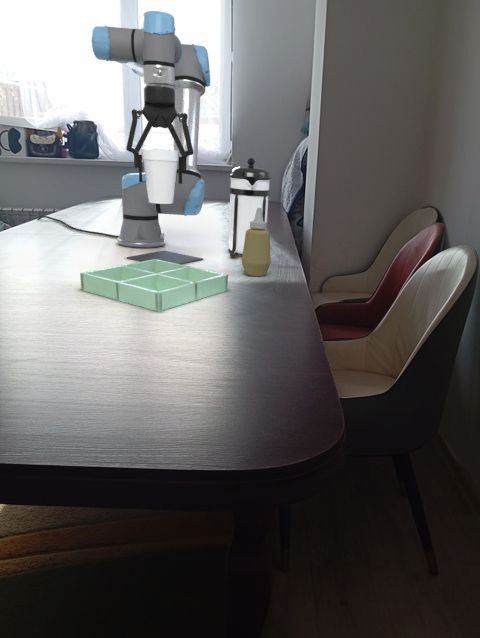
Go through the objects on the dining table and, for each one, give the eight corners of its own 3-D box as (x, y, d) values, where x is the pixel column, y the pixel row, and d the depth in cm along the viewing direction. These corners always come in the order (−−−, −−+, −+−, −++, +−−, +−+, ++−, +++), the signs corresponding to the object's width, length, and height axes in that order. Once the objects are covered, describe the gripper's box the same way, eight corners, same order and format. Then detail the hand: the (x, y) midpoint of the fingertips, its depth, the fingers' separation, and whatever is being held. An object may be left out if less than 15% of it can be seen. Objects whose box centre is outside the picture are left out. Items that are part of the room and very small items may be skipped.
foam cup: (182, 201, 140) (182, 150, 135) (173, 205, 132) (173, 151, 127) (148, 199, 141) (147, 148, 136) (137, 202, 132) (136, 148, 127)
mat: (126, 258, 152) (126, 257, 152) (163, 251, 165) (164, 250, 165) (167, 267, 145) (167, 266, 145) (202, 259, 157) (202, 258, 157)
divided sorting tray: (81, 290, 118) (80, 272, 116) (154, 273, 137) (154, 258, 135) (158, 311, 106) (158, 293, 105) (227, 290, 125) (228, 274, 124)
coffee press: (280, 257, 169) (287, 160, 158) (246, 262, 158) (251, 158, 147) (243, 248, 180) (247, 157, 169) (209, 252, 169) (211, 155, 158)
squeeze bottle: (248, 278, 138) (252, 209, 132) (236, 271, 145) (239, 206, 139) (274, 276, 142) (279, 210, 136) (261, 270, 149) (265, 206, 142)
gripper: (111, 81, 120) (116, 181, 129) (206, 89, 125) (204, 185, 133) (113, 83, 127) (117, 179, 135) (202, 91, 132) (201, 182, 140)
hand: (160, 182), depth 134 cm, fingers closed on foam cup, 9 cm apart
